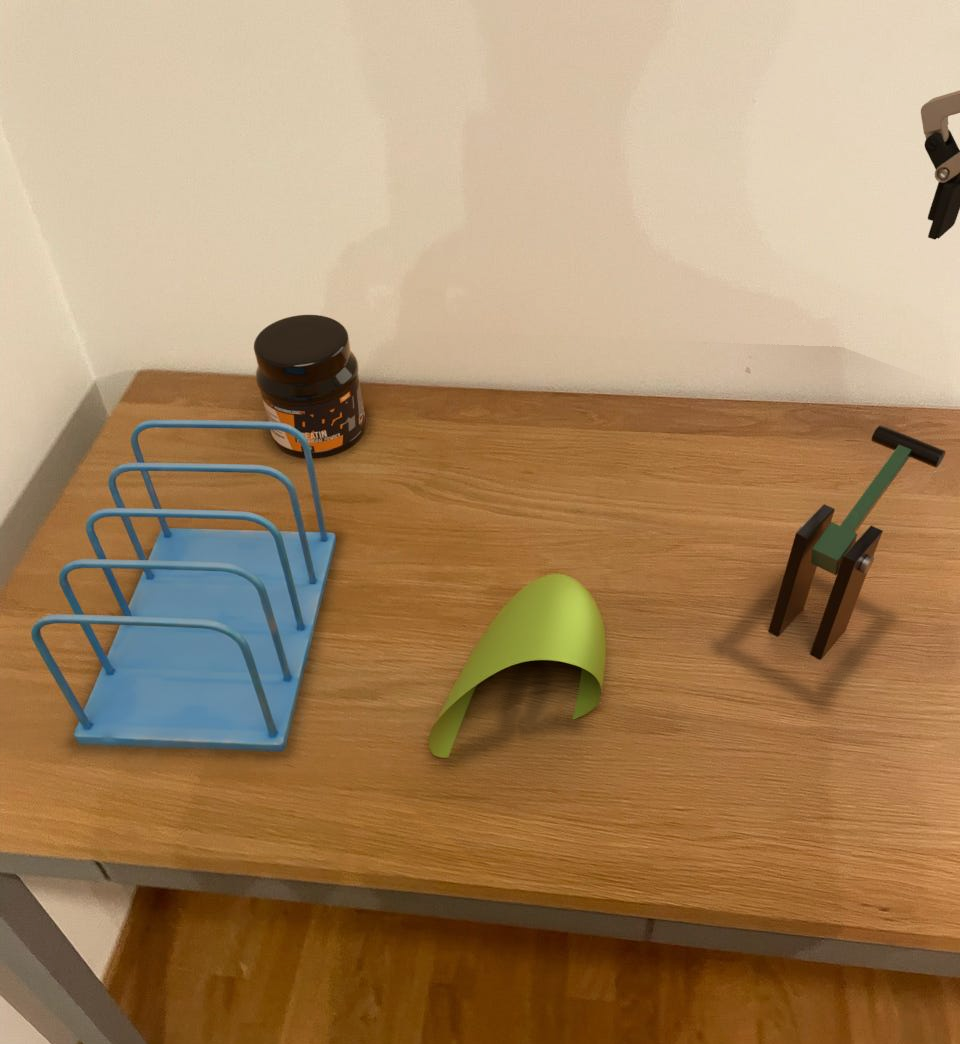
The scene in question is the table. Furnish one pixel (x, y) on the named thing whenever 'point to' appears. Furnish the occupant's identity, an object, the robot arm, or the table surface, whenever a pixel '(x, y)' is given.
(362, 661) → the table surface
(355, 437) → the supplement container
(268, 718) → the file sorter
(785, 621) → the bracket
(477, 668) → the curved green shell
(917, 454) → the lever
